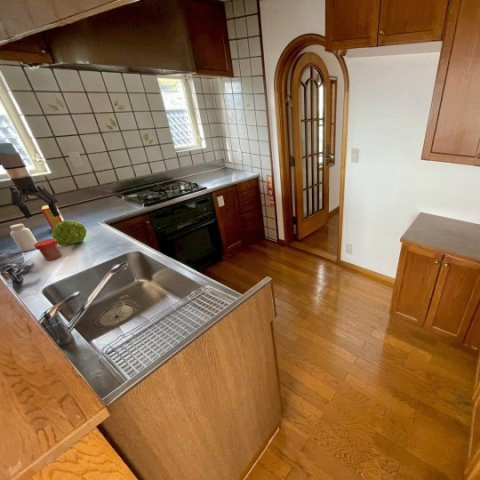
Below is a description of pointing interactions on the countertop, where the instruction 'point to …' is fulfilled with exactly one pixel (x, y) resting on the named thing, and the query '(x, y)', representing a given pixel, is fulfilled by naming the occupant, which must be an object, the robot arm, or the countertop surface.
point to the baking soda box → (50, 217)
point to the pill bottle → (23, 237)
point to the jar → (51, 253)
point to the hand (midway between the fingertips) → (43, 216)
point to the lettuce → (68, 232)
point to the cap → (45, 244)
